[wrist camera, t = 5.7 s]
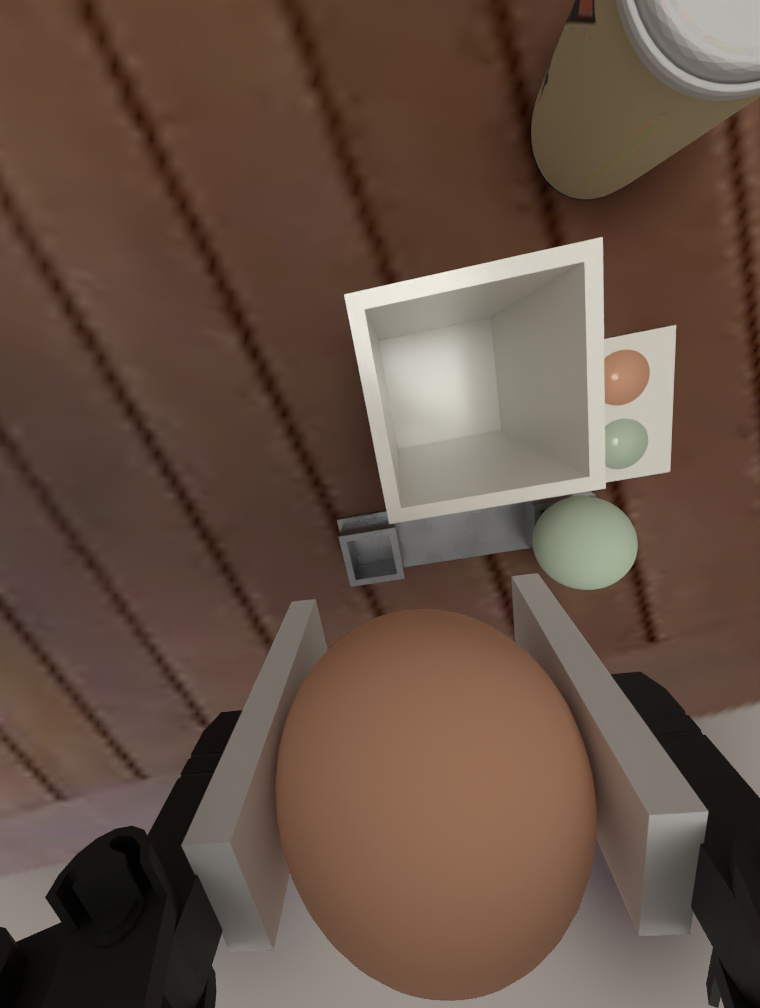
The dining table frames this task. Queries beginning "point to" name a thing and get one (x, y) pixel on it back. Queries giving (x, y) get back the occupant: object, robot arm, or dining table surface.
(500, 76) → the dining table surface
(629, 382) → the card
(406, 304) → the open square box
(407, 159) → the dining table surface
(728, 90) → the coffee cup
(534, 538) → the ball sage
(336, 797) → the ball terracotta
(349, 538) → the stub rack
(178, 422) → the dining table surface
